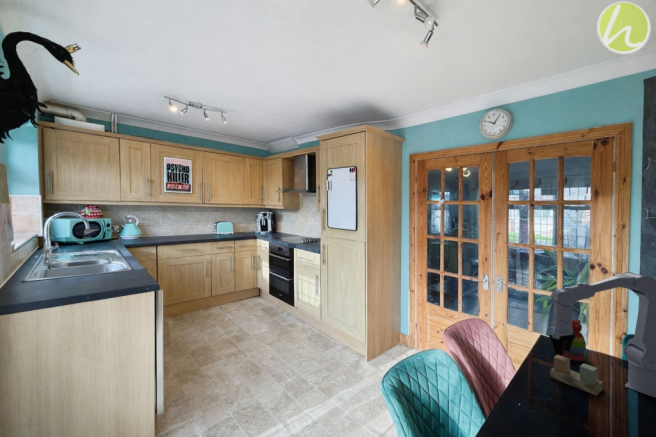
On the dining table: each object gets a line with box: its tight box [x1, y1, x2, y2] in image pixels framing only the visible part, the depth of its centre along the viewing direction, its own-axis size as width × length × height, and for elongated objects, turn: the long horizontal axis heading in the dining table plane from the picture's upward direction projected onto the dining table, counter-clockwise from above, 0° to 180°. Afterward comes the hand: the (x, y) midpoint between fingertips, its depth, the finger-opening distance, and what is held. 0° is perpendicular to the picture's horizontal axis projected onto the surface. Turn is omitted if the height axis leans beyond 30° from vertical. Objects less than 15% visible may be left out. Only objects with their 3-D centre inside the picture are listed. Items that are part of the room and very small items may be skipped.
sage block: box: [579, 363, 598, 384], centre depth 106 cm, size 4×4×5 cm
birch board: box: [549, 367, 604, 396], centre depth 109 cm, size 14×7×3 cm, turn 32°
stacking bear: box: [553, 318, 587, 362], centre depth 131 cm, size 11×10×18 cm
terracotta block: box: [553, 354, 571, 374], centre depth 113 cm, size 4×4×5 cm
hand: (562, 352), depth 112 cm, fingers open, 7 cm apart
